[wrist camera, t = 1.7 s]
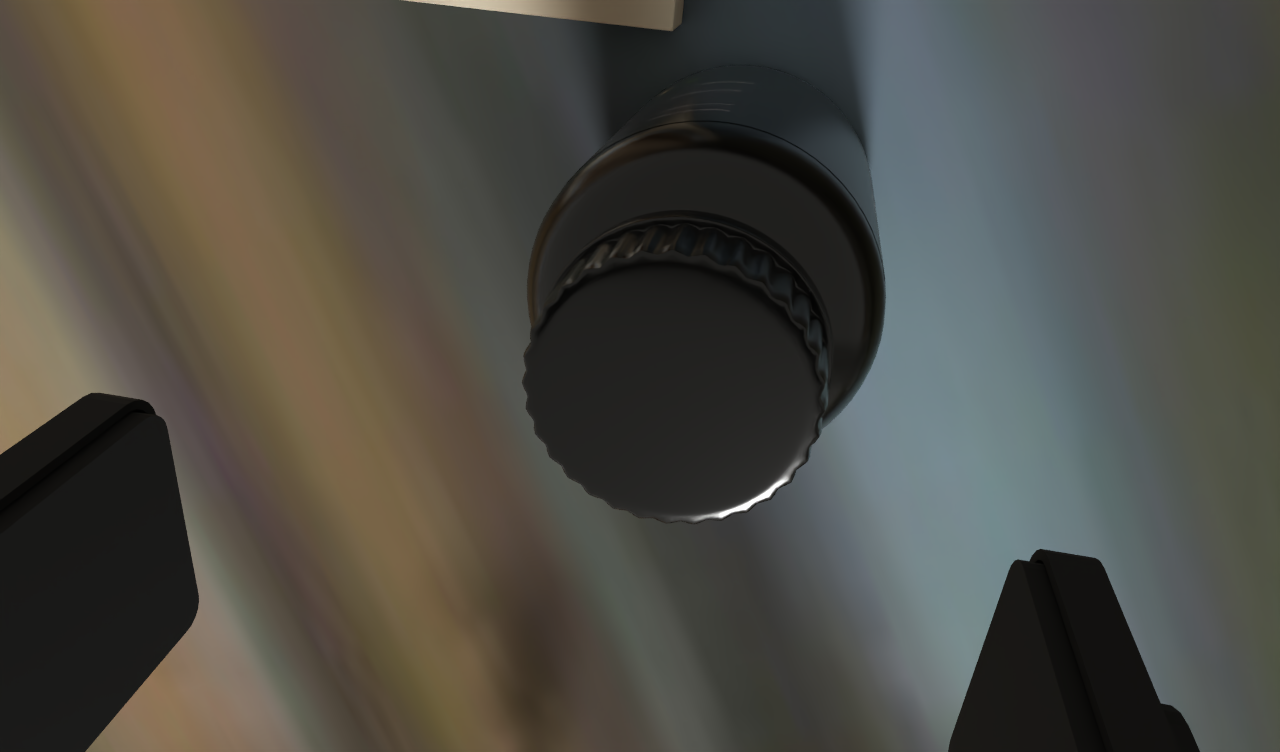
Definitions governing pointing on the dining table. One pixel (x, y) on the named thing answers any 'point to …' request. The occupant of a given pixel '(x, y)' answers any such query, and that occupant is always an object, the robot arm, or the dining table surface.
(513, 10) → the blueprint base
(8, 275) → the dining table surface
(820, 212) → the supplement bottle
